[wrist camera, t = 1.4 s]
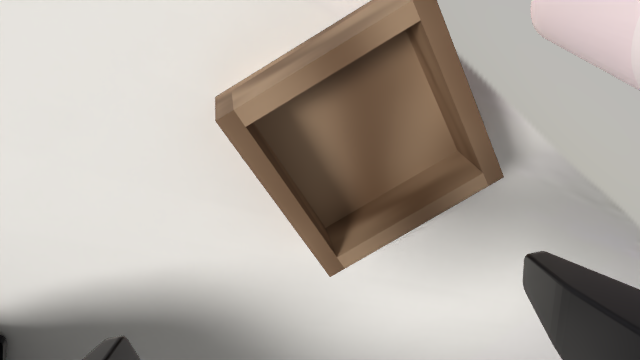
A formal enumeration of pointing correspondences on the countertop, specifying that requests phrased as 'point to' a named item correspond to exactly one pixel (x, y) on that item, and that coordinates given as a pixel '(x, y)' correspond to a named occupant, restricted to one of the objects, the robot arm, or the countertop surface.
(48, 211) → the countertop surface
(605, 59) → the smoothie
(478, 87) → the countertop surface
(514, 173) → the countertop surface
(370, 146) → the socket block
